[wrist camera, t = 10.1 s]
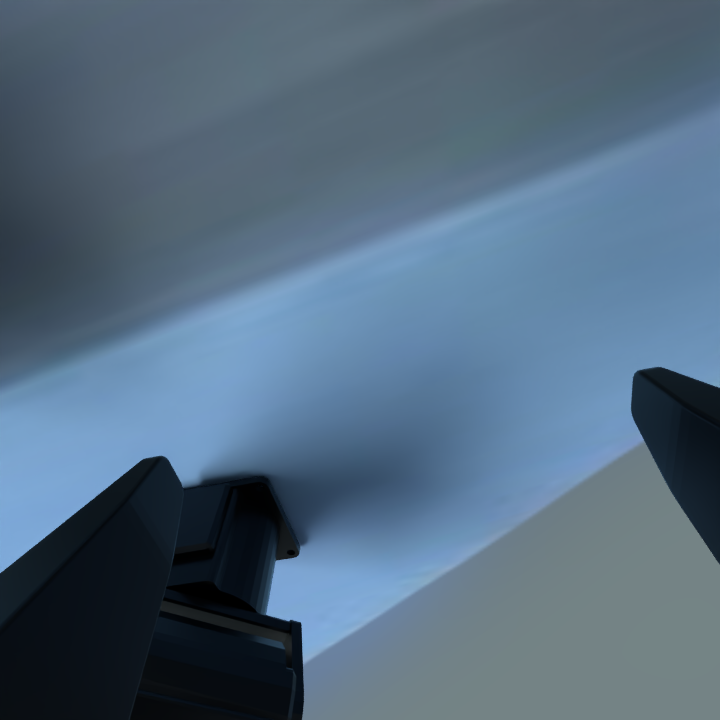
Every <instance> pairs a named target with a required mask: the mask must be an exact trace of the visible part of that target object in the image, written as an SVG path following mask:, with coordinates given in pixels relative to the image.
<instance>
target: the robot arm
mask: <svg viewBox="0 0 720 720" xmlns="http://www.w3.org/2000/svg"><path fill="white" fill-rule="evenodd" d="M631 412H632V416H633V419H634V421H635V423H636V425H637V427H638V429H639V431H640V433H641V435H642V437H643V439H644V441H645V443H646V445H647V447H648V449H649V450H650V452H651V454H652V456H653V458H654V460H655V462H656V464H657V466H658V468H659V470H660V472H661V474H662V476H663V478H664V480H665V481H666V483H667V485H668V487H669V489H670V491H671V492H672V494H673V495H674V497H675V499H676V500H677V502H678V503H679V505H680V506H681V508H682V509H683V511H684V512H685V514H686V515H687V517H688V518H689V520H690V521H691V523H692V524H693V526H694V527H695V529H696V530H697V532H698V533H699V534H700V536H701V537H702V539H703V540H704V542H705V543H706V545H707V546H708V548H709V549H710V551H711V552H712V554H713V555H714V557H715V558H716V560H717V561H718V563H719V564H720V388H718V387H715V386H713V385H710V384H707V383H704V382H701V381H699V380H696V379H693V378H690V377H688V376H685V375H682V374H679V373H676V372H674V371H671V370H668V369H665V368H662V367H654V368H649V369H643V370H638V371H637V372H636V373H635V374H634V376H633V385H632V401H631ZM258 485H261V486H263V487H261V486H258ZM299 551H300V545H299V543H298V541H297V539H296V537H295V535H294V533H293V530H292V528H291V526H290V524H289V522H288V520H287V518H286V515H285V513H284V511H283V509H282V507H281V505H280V503H279V500H278V498H277V496H276V494H275V492H274V490H273V487H272V485H271V483H270V481H269V480H268V479H267V478H265V477H254V478H249V479H243V480H238V481H232V482H226V483H221V484H215V485H210V486H204V487H198V488H193V489H187V490H183V487H182V484H181V482H180V480H179V478H178V476H177V475H176V473H175V471H174V469H173V467H172V466H171V464H170V462H169V460H168V459H167V458H166V457H164V456H157V457H151V458H146V459H143V460H141V461H140V462H139V463H138V464H136V465H135V466H134V467H133V468H131V469H130V470H129V471H128V472H126V473H125V474H124V475H123V476H121V477H120V478H119V479H118V480H116V481H115V482H114V483H113V484H111V485H110V486H109V487H108V488H106V489H105V490H104V491H103V492H101V493H100V494H99V495H98V496H96V497H95V498H94V499H93V500H91V501H90V502H89V503H88V504H86V505H85V506H84V507H83V508H81V509H80V510H79V511H78V512H76V513H75V514H74V515H73V516H71V517H70V518H69V519H68V520H66V521H65V522H64V523H63V524H61V525H60V526H59V527H58V528H56V529H55V530H54V531H53V532H51V533H50V534H49V535H48V536H46V537H45V538H44V539H43V540H41V541H40V542H39V543H38V544H36V545H35V546H34V547H33V548H31V549H30V550H29V551H28V552H26V553H25V554H24V555H23V556H21V557H20V558H19V559H18V560H16V561H15V562H14V563H13V564H11V565H10V566H9V567H8V568H6V569H5V570H4V571H3V572H1V573H0V720H302V714H303V704H304V684H303V656H302V628H301V622H297V621H293V620H290V621H286V620H282V619H279V618H275V617H271V616H268V615H266V612H267V606H268V601H269V595H270V589H271V584H272V578H273V572H274V567H275V561H276V560H282V559H289V558H294V557H297V556H298V555H299Z"/></svg>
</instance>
